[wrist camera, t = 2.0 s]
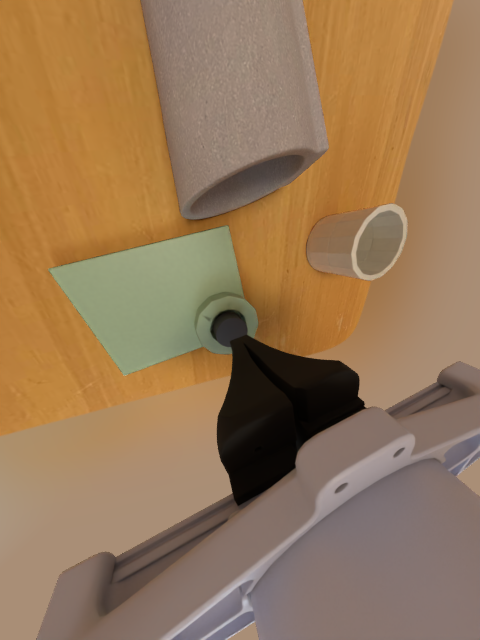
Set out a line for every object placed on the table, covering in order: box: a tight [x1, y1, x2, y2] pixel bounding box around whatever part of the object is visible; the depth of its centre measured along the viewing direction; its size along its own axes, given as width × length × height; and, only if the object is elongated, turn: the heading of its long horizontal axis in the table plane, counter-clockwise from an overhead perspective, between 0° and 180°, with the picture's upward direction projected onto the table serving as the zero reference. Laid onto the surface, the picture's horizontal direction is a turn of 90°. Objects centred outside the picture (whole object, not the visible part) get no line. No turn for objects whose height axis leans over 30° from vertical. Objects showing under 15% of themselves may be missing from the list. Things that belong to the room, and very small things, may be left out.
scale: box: [48, 225, 258, 375], centre depth 15 cm, size 11×13×2 cm
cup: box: [306, 203, 407, 281], centre depth 16 cm, size 6×6×6 cm
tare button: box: [213, 312, 248, 347], centre depth 15 cm, size 3×3×2 cm
